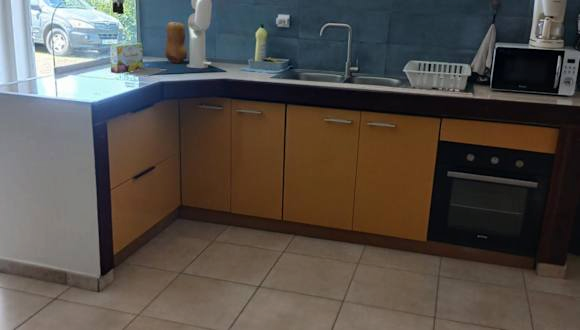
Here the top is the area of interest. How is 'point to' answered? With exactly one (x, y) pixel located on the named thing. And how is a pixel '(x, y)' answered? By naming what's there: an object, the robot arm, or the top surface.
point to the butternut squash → (175, 42)
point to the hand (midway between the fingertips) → (118, 13)
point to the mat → (146, 72)
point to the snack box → (126, 57)
